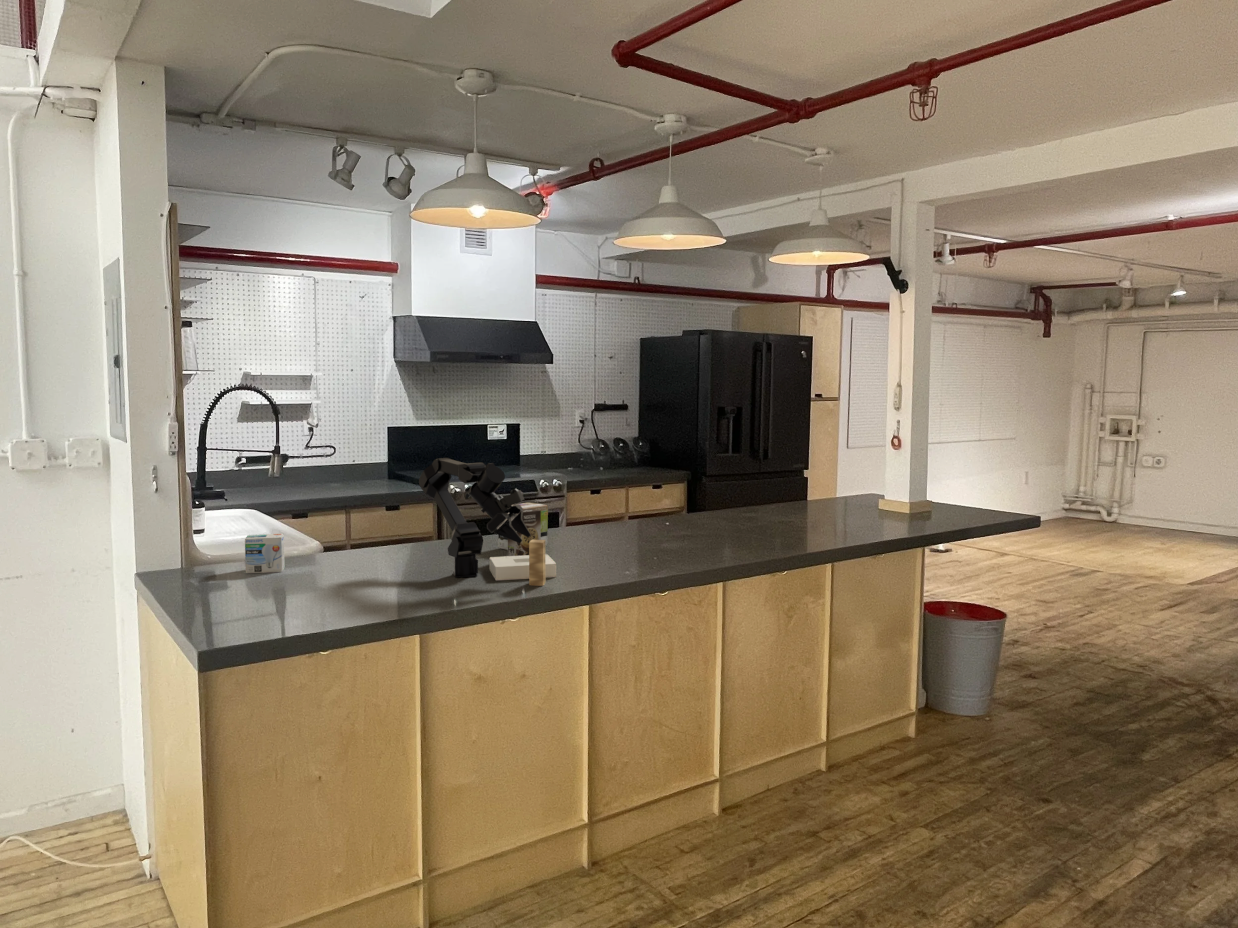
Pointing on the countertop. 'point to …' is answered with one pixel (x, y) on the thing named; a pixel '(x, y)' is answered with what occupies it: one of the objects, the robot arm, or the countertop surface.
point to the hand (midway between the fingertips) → (525, 539)
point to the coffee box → (534, 526)
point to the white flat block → (517, 567)
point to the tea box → (544, 523)
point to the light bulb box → (264, 553)
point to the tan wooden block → (537, 562)
